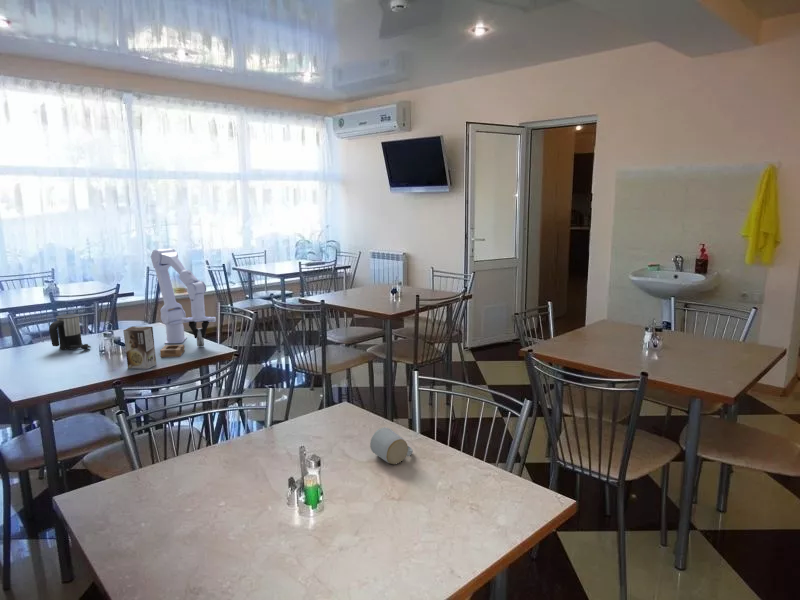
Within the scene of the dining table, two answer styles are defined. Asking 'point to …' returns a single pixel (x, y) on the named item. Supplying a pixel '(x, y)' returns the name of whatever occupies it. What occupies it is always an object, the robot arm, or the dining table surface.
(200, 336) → the needle peg
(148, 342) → the coffee box
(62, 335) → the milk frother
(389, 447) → the ceramic mug
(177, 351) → the bead block
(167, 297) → the robot arm
